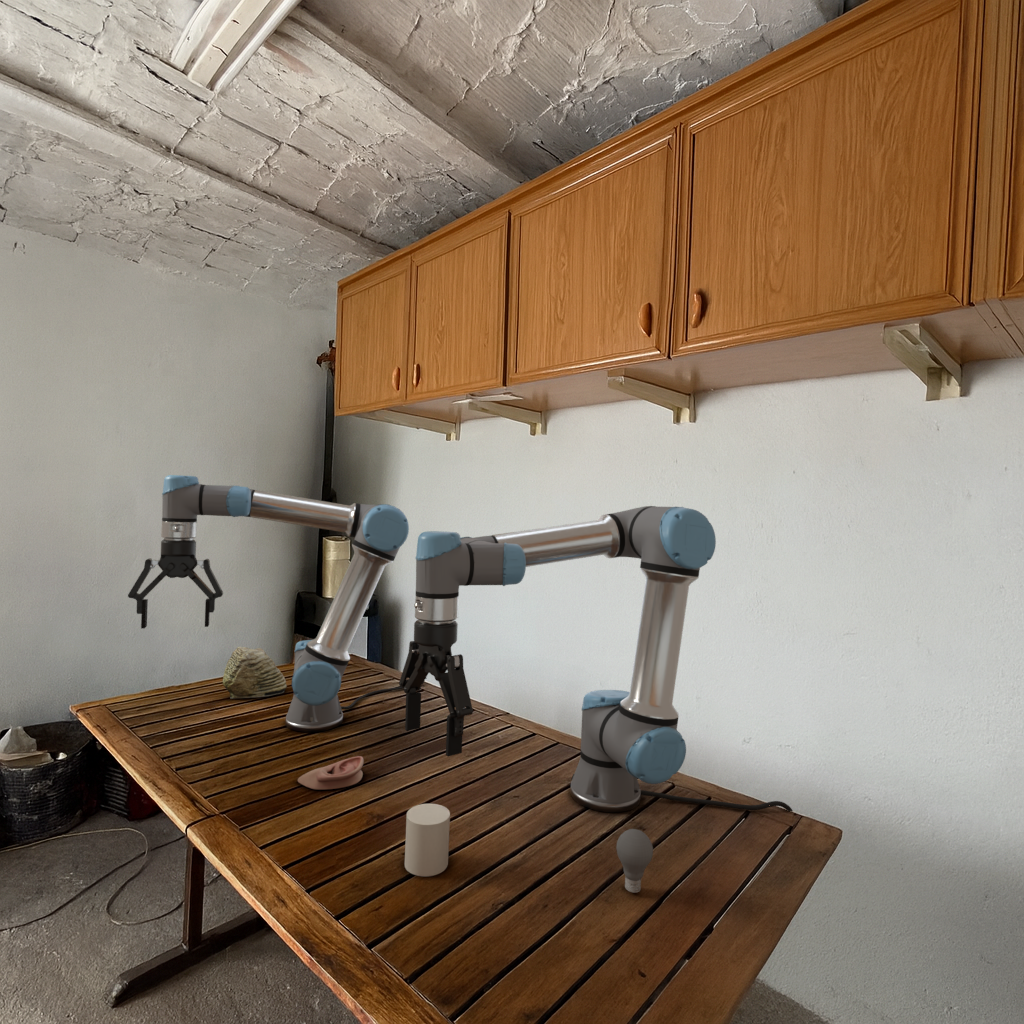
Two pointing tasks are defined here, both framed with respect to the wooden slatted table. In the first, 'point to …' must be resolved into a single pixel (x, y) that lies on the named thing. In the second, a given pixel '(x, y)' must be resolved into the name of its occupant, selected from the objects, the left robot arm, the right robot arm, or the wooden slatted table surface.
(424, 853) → the can
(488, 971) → the wooden slatted table surface
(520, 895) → the wooden slatted table surface
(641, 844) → the light bulb
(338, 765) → the anatomical model
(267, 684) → the fossil
